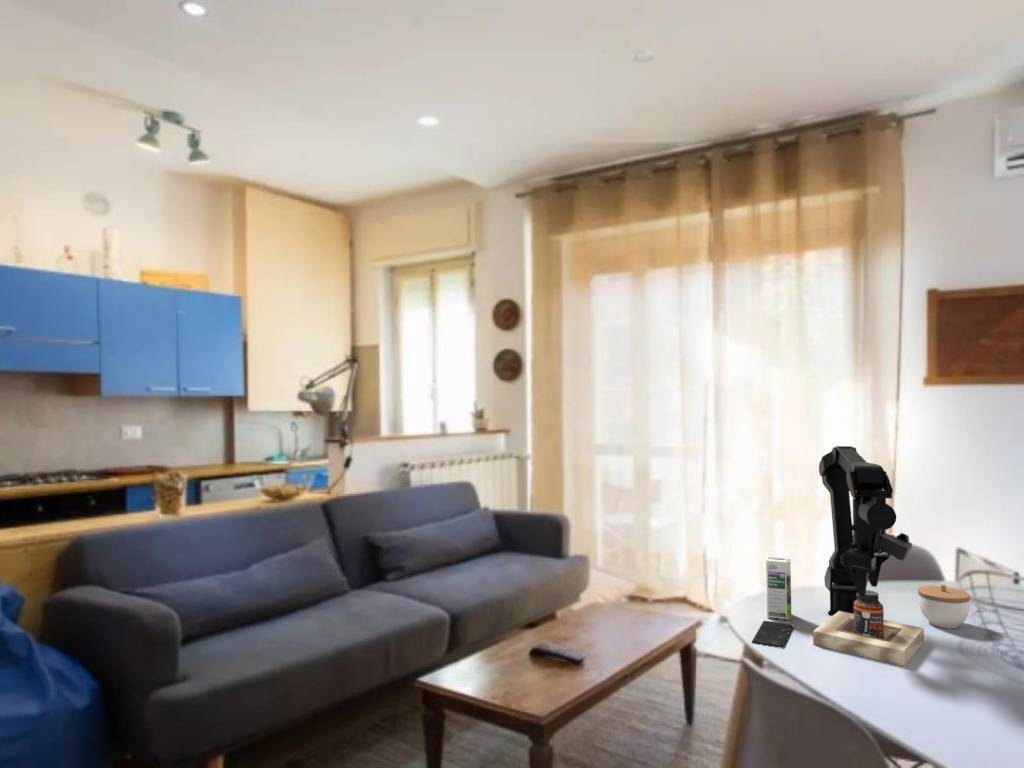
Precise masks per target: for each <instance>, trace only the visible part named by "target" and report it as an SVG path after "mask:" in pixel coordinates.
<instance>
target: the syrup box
mask: <svg viewBox="0 0 1024 768" xmlns="http://www.w3.org/2000/svg"><path fill="white" fill-rule="evenodd" d="M765 565H766V568H765V569H766V572H765V573H766V617H769V618H768V619H775V618H778V619H777V620H784V619H786V620H787V621H792V575H791V573H792V570H791V569H792V567H791V557H784V556H770V555H767V556H766V563H765ZM786 620H785V621H786Z"/></svg>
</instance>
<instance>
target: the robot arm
mask: <svg viewBox="0 0 1024 768" xmlns="http://www.w3.org/2000/svg"><path fill="white" fill-rule="evenodd" d="M818 472H819V476H820V477H821V481H822V485H823V486H824V488H825V489H826V490H827V491H828V492H829V495H830V497H829V499H830V508H831V521H832V530H833V531H832V532H833V543H834V546H833V547H834V551H833V553H832V555H831V556H830V558H829V560H828V566H827V568H826V571H825V575H824V587H825V588H826V589H827V590H828V591H829V610H828V611H827V614H828V615H831V616H833V615H834V614H836V613H837V612H838V611H842V612H847V613H852V614H854V602H855V601H856V600H857V599H858V598H859V597H858V595H860V596H865V593H866V590H867V587H868V582H869V584H870V586H871V587H875V588H876V587H877V586H878V583H879V579H880V576H881V572H882V569H883V566H884V563H885V562H886V561H887V560H889V559H890V558H891V557H894V558H895V559H896V560H899V561H905V560H906V559H908V557H909V554H910V552H911V550H912V548H913V544H912V542H910V537H909V535H908V534H905V533H903V532H901V533H899V534H898V535H896V536H895V535H894V534H892V535H891V534H889V533H887V530H890V529H891V528H892V527H893V526H894V525H895V524H896V522H897V513H896V511H895V510H894V508H893V507H892V506H891V505H889V504H887V503H886V502H887V499H893V492H894V490H893V487H892V484H891V481H890V477H889V475H888V474H887V472H886V470H884V468H883V466H881V465H880V464H877V463H874V462H872V463H871V462H867V461H866V460H865V459H864V458H863V457H862V455H861V454H859V453H858V452H857V449H856V447H855V446H852V445H849V446H847V445H846V446H843V445H842V446H840V445H837V446H834V447H832V450H831V451H829V452H828V453H826V454H824V455H823V456H822V457H821V458H820V462H819V464H818ZM850 496H851V497H852V510H851V499H850ZM868 580H869V581H868Z"/></svg>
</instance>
